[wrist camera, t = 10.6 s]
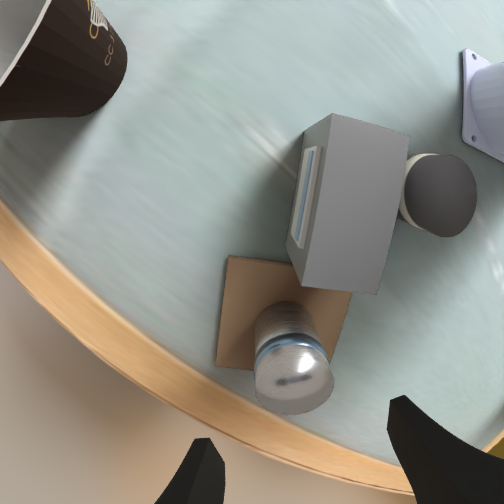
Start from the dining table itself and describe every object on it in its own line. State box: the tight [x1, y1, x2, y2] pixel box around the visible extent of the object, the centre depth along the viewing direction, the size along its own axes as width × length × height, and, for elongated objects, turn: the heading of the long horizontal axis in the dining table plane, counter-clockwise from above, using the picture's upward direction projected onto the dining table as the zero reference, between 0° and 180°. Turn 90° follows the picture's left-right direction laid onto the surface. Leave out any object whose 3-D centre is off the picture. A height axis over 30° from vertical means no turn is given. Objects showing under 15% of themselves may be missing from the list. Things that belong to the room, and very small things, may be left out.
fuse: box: [254, 301, 334, 415], centre depth 16 cm, size 4×4×6 cm
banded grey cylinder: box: [396, 154, 477, 237], centre depth 14 cm, size 4×4×6 cm
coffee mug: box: [0, 0, 127, 121], centre depth 9 cm, size 12×9×10 cm
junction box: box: [285, 113, 410, 294], centre depth 14 cm, size 4×7×6 cm, turn 171°
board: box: [216, 255, 352, 371], centre depth 19 cm, size 8×8×1 cm
